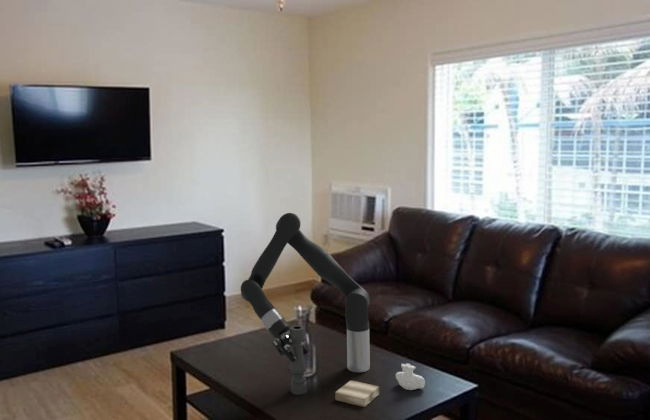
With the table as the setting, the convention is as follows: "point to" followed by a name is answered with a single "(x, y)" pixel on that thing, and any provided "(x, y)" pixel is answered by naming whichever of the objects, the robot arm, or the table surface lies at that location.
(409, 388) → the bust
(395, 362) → the table surface
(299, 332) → the candle holder
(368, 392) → the birch plate
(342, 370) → the table surface
